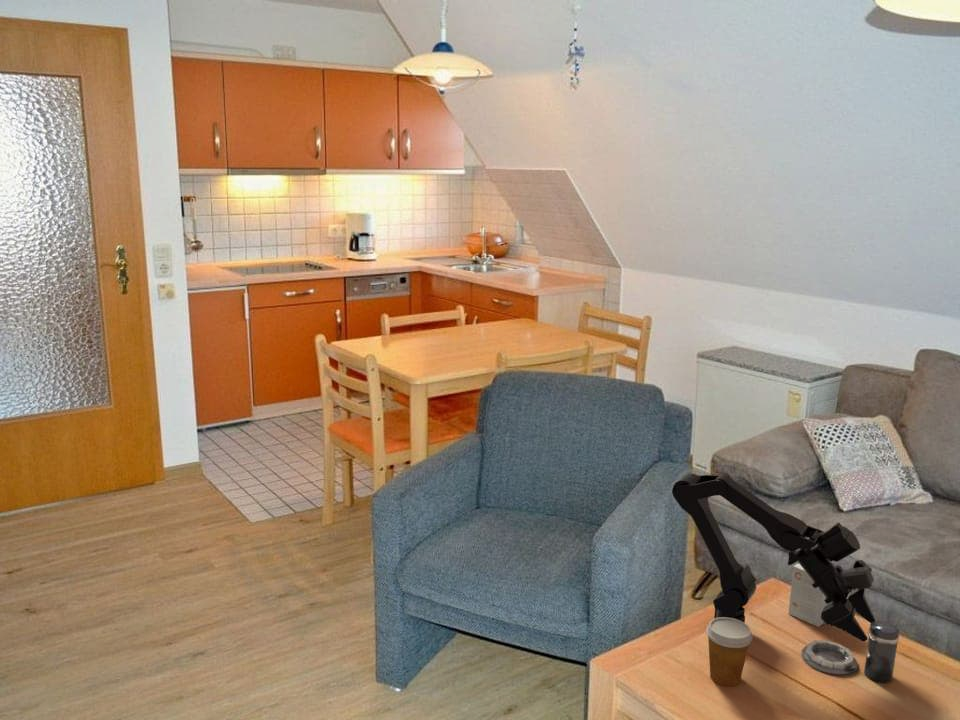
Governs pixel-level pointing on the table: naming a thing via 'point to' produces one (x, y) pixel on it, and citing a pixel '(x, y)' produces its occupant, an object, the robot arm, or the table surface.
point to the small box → (805, 598)
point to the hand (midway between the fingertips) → (869, 631)
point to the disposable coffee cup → (727, 649)
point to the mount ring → (829, 658)
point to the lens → (881, 651)
